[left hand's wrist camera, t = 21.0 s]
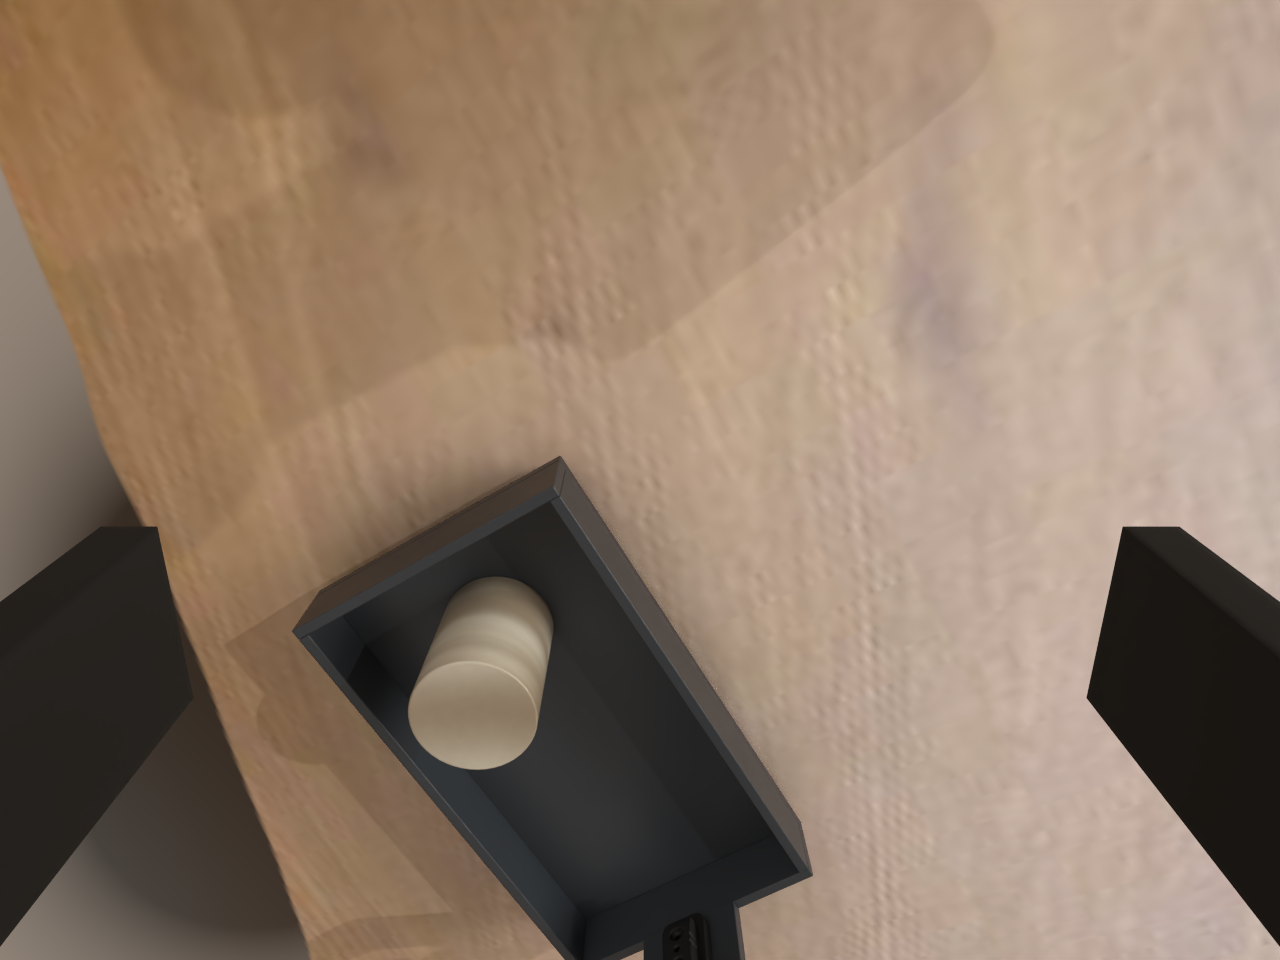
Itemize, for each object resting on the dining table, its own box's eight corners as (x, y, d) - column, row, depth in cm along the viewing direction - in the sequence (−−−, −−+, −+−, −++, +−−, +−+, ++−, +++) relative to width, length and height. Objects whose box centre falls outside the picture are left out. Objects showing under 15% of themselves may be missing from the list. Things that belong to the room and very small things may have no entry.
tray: (319, 590, 42) (238, 708, 33) (560, 454, 39) (539, 544, 31) (584, 919, 49) (572, 1085, 40) (801, 822, 46) (837, 976, 38)
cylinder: (438, 576, 41) (400, 663, 34) (550, 574, 41) (533, 660, 34) (449, 672, 42) (414, 772, 36) (556, 670, 42) (541, 769, 36)
